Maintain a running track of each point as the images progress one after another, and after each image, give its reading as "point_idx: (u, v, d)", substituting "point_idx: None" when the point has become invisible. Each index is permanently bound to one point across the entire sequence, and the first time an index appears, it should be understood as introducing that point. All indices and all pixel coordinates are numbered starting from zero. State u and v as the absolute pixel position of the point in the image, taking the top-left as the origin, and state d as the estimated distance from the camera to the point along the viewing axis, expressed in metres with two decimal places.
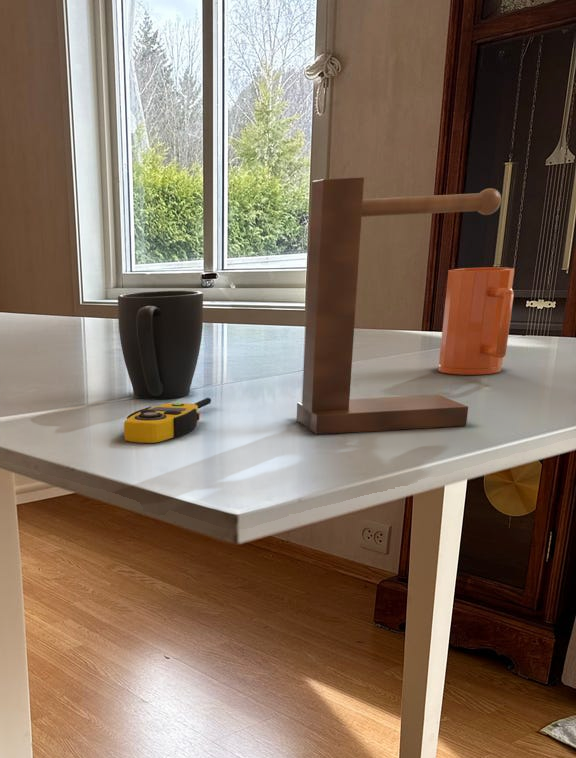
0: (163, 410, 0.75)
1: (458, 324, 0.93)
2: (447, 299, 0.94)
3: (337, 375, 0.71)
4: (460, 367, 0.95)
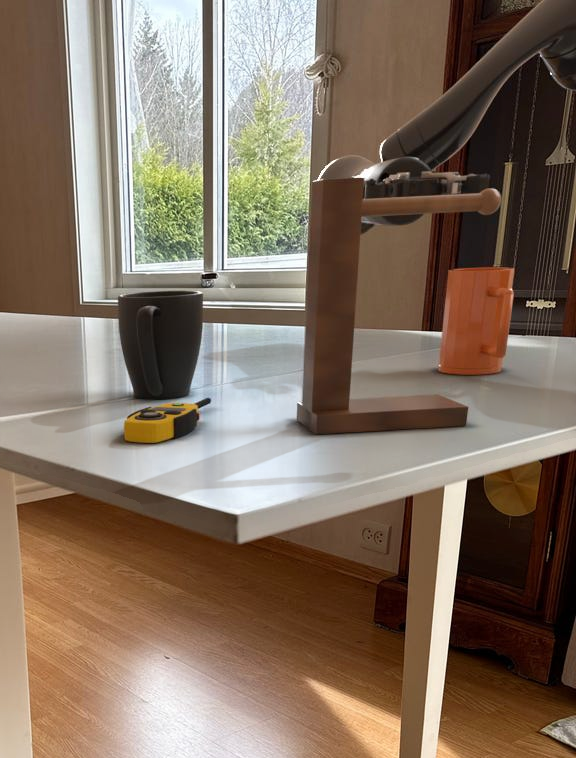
0: (163, 410, 0.75)
1: (458, 324, 0.93)
2: (447, 299, 0.94)
3: (337, 375, 0.71)
4: (460, 367, 0.95)
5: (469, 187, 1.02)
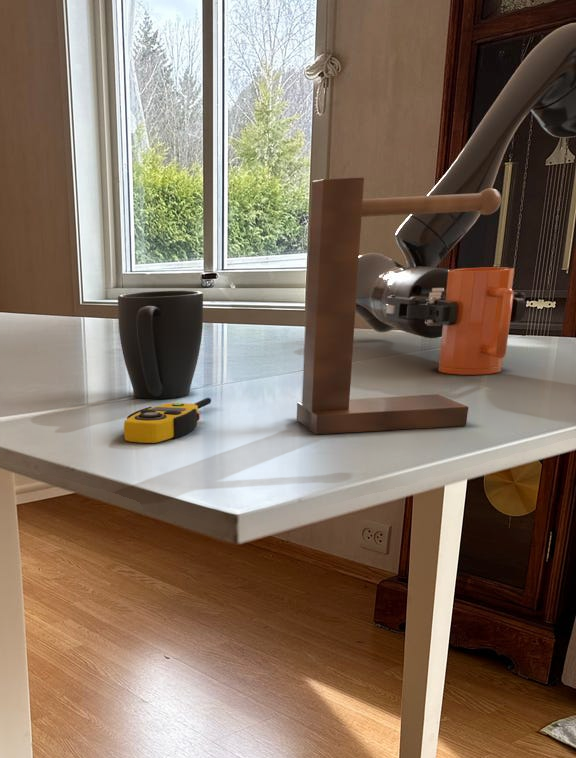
0: (163, 410, 0.75)
1: (458, 324, 0.93)
2: (447, 299, 0.94)
3: (337, 375, 0.71)
4: (460, 367, 0.95)
5: None
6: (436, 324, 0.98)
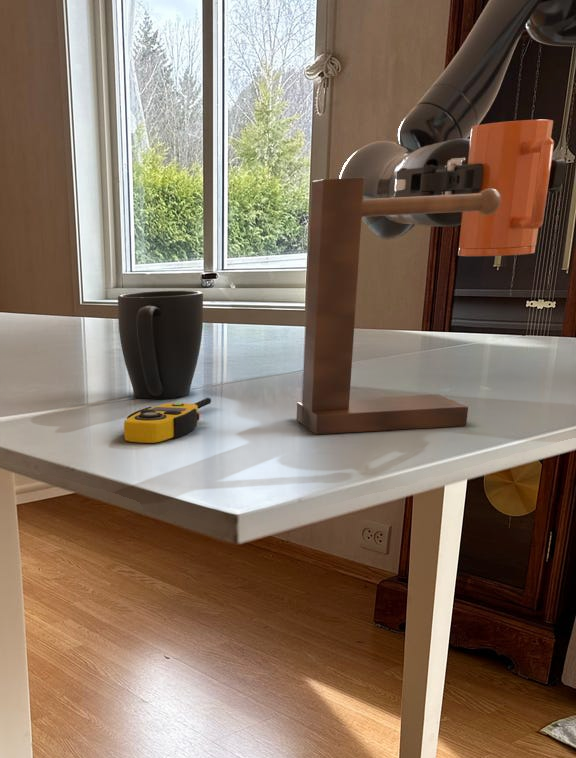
0: (163, 410, 0.75)
1: None
2: (470, 163, 0.77)
3: (337, 375, 0.71)
4: (485, 247, 0.78)
5: None
6: None
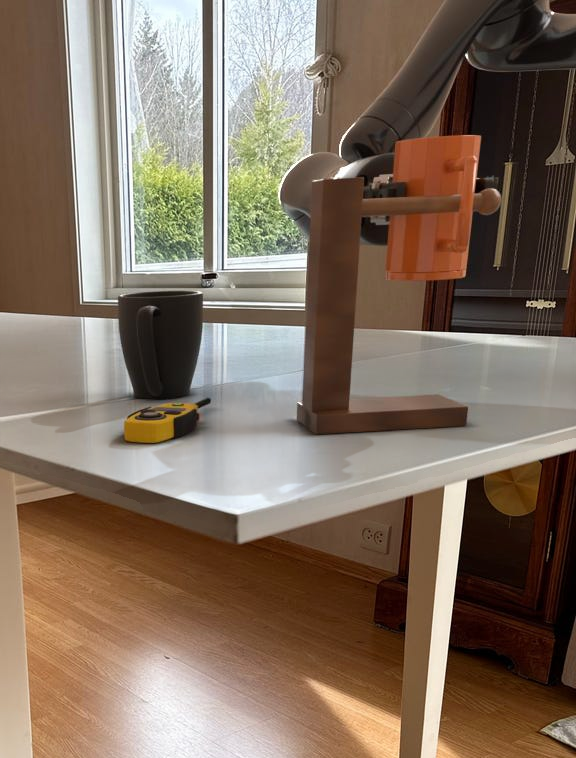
0: (163, 410, 0.75)
1: None
2: (394, 181, 0.72)
3: (337, 375, 0.71)
4: (411, 271, 0.72)
5: None
6: (383, 219, 0.76)
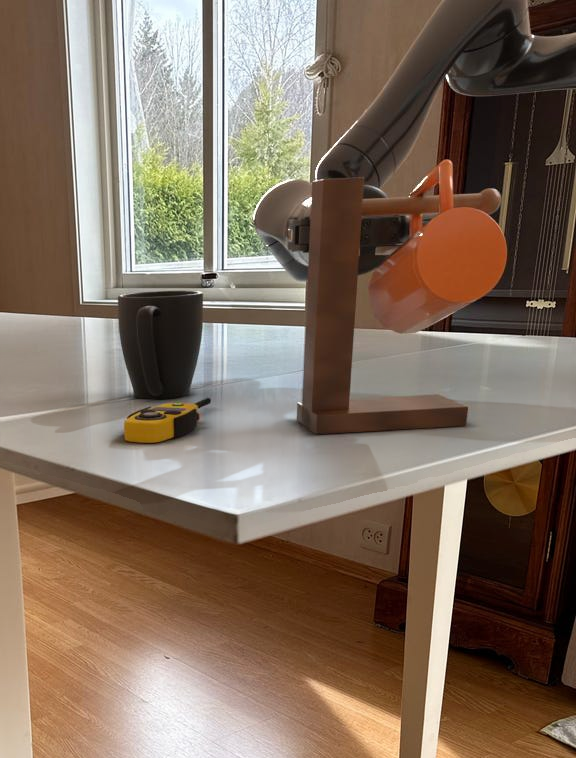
0: (163, 410, 0.75)
1: (398, 250, 0.66)
2: (380, 287, 0.69)
3: (337, 375, 0.71)
4: (428, 223, 0.62)
5: None
6: None
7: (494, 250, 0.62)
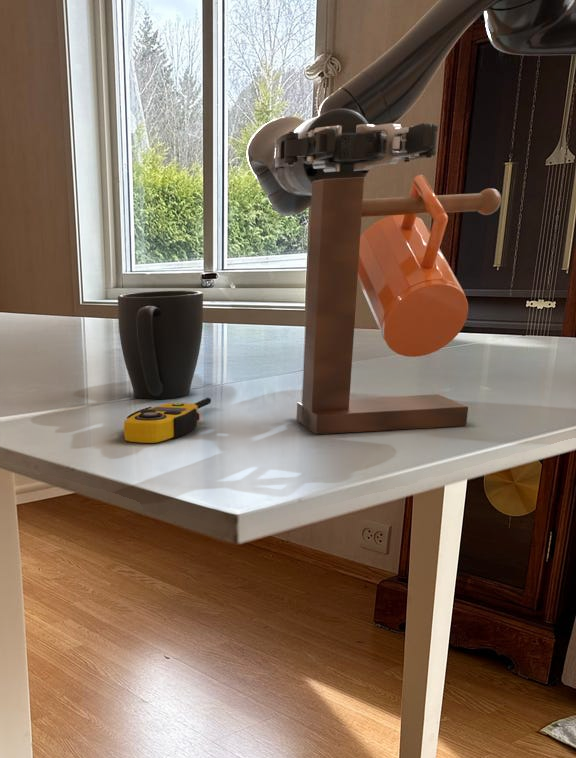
0: (163, 410, 0.75)
1: (381, 265, 0.70)
2: (361, 272, 0.73)
3: (337, 375, 0.71)
4: (404, 289, 0.67)
5: (411, 140, 0.83)
6: (323, 165, 0.86)
7: (455, 318, 0.68)
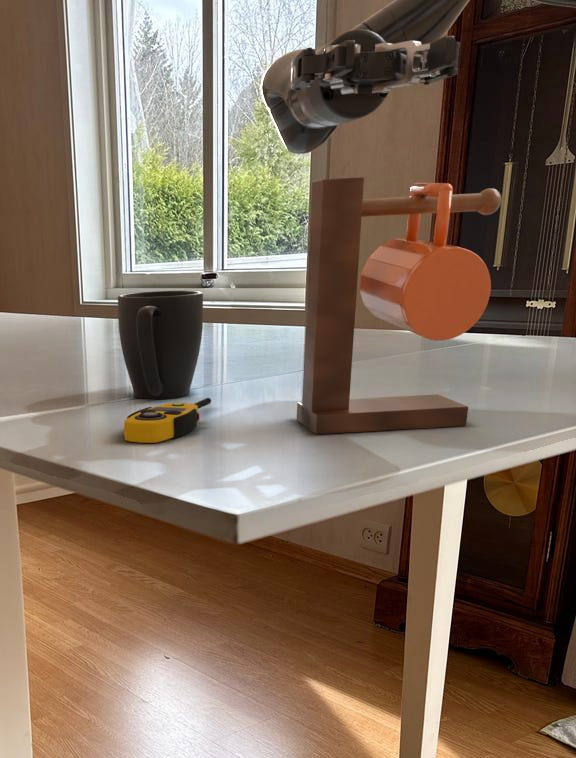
0: (163, 410, 0.75)
1: (391, 262, 0.68)
2: (371, 287, 0.71)
3: (337, 375, 0.71)
4: (419, 260, 0.64)
5: (433, 56, 0.80)
6: (341, 84, 0.83)
7: (478, 290, 0.65)
